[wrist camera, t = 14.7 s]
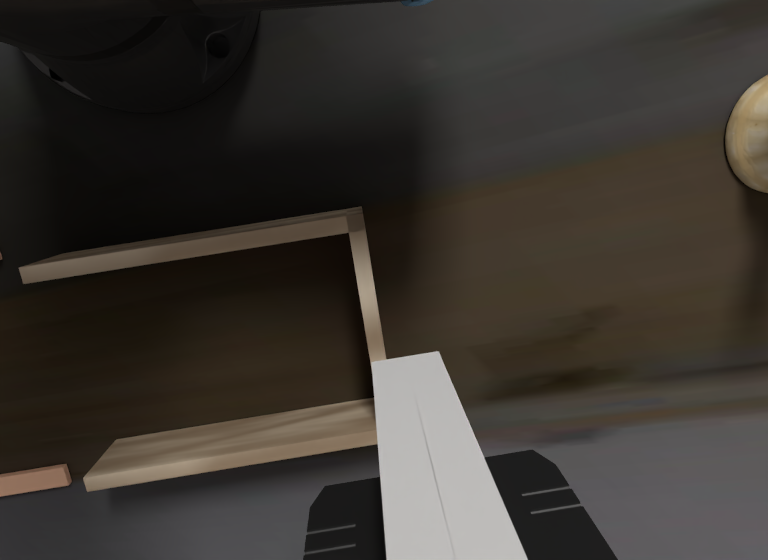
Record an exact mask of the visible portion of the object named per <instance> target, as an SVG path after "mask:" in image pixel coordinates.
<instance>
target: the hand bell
mask: <svg viewBox="0 0 768 560" xmlns="http://www.w3.org/2000/svg"><path fill="white" fill-rule="evenodd" d="M725 147H726V154H727V158H728V161H729V163H730V166H731V168H732V170H733V172H734V173H735V174H736V176H737V177H738V178H739V179H740V180H741V181H742V182H743V183H744V184H745V185H747V186H749V187H750V188H752V189H755V190H757V191H761V192H765V193H768V75H767V76H765V77H763V78H762V79H760V80H758V81H757V82H755V83H754V84H753V85H752V86H751V87H749V88H748V89H747V90H746V91H745V93H744V94H743V95H742V96H741V98H740V99H739V100H738V102H737V103H736V105H735V107H734V109H733V111H732V113H731V116H730V118H729V121H728V124H727V128H726V135H725Z"/></svg>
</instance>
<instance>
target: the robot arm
mask: <svg viewBox="0 0 768 560" xmlns="http://www.w3.org/2000/svg"><path fill="white" fill-rule="evenodd" d="M397 1H400V2H401V3H402V4H403V5H405V6H420V5H424V4H427V3H429V2H431V1H433V0H0V42H3V43H7V44H10V45H13V46H16V47H18V48H19V49H20V50H21V51H22V52H23V53H24V54H25V56H26V57H27V58H28V59H29V60H30V61H31V62H32V63H33V64H34V65H35V66H36V67H37V68H38V69H39V70H40V71H41V72H42V73H44V74H45V75H46V76H47V77H49V78H50V79H51V80H52V81H54V82H55V83H57V84H58V85H59V86H61V87H63V88H64V89H66V90H68V91H69V92H71V93H73V94H75V95H77V96H79V97H81V98H83V99H85V100H88V101H90V102H93V103H96V104H98V105H102V106H106V107H109V108H114V109H119V110H123V111H129V112H136V113H161V112H168V111H173V110H177V109H181V108H184V107H187V106H189V105H192V104H194V103H196V102H198V101H200V100H202V99H204V98H206V97H207V96H209V95H210V94H212V93H213V92H215V91H216V90H217V89H218V88H220V87H221V86H222V85H223V84H224V83H225V82H226V81H227V80H228V79H229V78H230V77H231V76H232V75H233V73H234V72H235V71H236V69H237V68H238V67H239V65H240V64H241V62H242V61H243V59H244V57H245V55H246V54H247V52H248V50H249V47H250V45H251V43H252V40H253V37H254V35H255V31H256V28H257V24H258V19H259V13H260V11H263V10H278V9H293V8H307V7H322V6H337V5H352V4H367V3H382V2H397ZM372 375H373V388H374V401H375V414H376V427H377V441H378V454H379V467H380V477H377V478H371V479H365V480H359V481H353V482H347V483H341V484H335V485H329V486H325V487H324V488H323V490H322V491H321V493H320V494H319V495H318V497H317V498H316V500H315V501H314V503H313V504H312V505H311V507H310V512H309V520H308V527H307V535H306V542H305V550H304V551H305V556H304V558H303V560H618V559H617V558H616V556H615V555H614V553H613V551H612V550H611V548H610V547H609V545H608V544H607V542H606V541H605V539H604V538H603V536H602V535H601V533H600V532H599V530H598V529H597V527H596V525H595V524H594V522H593V521H592V519H591V518H590V516H589V515H588V513H587V512H586V510H585V509H584V507H581V504H580V501H579V499H578V498H577V496H576V495H575V493H574V492H573V490H572V489H570V488H569V484H568V483H567V481H566V480H565V478H564V477H563V475H562V474H561V472H560V470H559V469H558V467H557V466H556V464H554V463H553V462H551V461H549V460H548V459H546V458H545V457H543V456H542V455H540V454H538V453H537V452H535V451H534V450H527V451H521V452H515V453H509V454H503V455H497V456H491V457H485V458H484V456H483V454H482V452H481V449H480V447H479V445H478V442H477V440H476V438H475V435H474V433H473V431H472V428H471V426H470V424H469V421H468V419H467V417H466V414H465V412H464V410H463V407H462V405H461V403H460V400H459V398H458V396H457V393H456V391H455V389H454V386H453V384H452V382H451V379H450V377H449V375H448V372H447V370H446V368H445V365H444V363H443V361H442V358H441V356H440V354H439V351H437V352H431V353H425V354H419V355H412V356H406V357H400V358H394V359H388V360H381V361H375V362H372Z"/></svg>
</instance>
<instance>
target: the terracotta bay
mask: <svg viewBox="0 0 768 560" xmlns="http://www.w3.org/2000/svg"><path fill="white" fill-rule="evenodd" d="M0 260H2V255H1V252H0ZM71 482H72V480H71V476H70V473H69V470H68V467H67V464H61V465H54V466H48V467H42V468H36V469H30V470H24V471H18V472H12V473H5V474H0V497H1V496H7V495H13V494H19V493H25V492H31V491H38V490H44V489H50V488H56V487H62V486H68V485H69V484H70V483H71Z"/></svg>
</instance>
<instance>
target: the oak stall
mask: <svg viewBox="0 0 768 560" xmlns="http://www.w3.org/2000/svg"><path fill="white" fill-rule="evenodd" d="M344 233H349V237H350V243H351V249H352V255H353V261H354V267H355V273H356V279H357V285H358V290H359V296H360V302H361V308H362V314H363V320H364V326H365V332H366V338H367V344H368V350H369V356H370V362H371V368H372V362H375V361H381V360H386V354H385V348H384V342H383V336H382V329H381V323H380V317H379V311H378V304H377V298H376V292H375V286H374V279H373V273H372V267H371V261H370V254H369V248H368V242H367V236H366V229H365V223H364V217H363V211H362V206H361V207H355V208H349V209H342V210H336V211H330V212H323V213H317V214H311V215H304V216H298V217H291V218H285V219H279V220H272V221H266V222H260V223H253V224H247V225H241V226H234V227H228V228H222V229H215V230H209V231H203V232H196V233H190V234H183V235H177V236H171V237H164V238H158V239H152V240H145V241H139V242H133V243H126V244H120V245H114V246H107V247H101V248H94V249H88V250H82V251H75V252H69V253H63V254H60V255H57V256H53V257H50V258H47V259H44V260H41V261H38V262H35V263H32V264H29V265H25V266H22V267H19V271H20V274H21V278H22V281H23V284H27V283H34V282H40V281H46V280H53V279H59V278H65V277H71V276H78V275H84V274H90V273H97V272H103V271H109V270H116V269H122V268H128V267H135V266H141V265H147V264H154V263H160V262H166V261H173V260H179V259H185V258H192V257H198V256H204V255H211V254H217V253H223V252H230V251H236V250H242V249H249V248H255V247H261V246H268V245H274V244H280V243H287V242H293V241H299V240H306V239H312V238H318V237H325V236H331V235H337V234H344ZM375 444H378V441H377V427H376V414H375V401H374V398H367V399H361V400H355V401H349V402H343V403H337V404H331V405H325V406H318V407H312V408H306V409H300V410H294V411H288V412H282V413H275V414H269V415H263V416H257V417H251V418H245V419H239V420H232V421H226V422H220V423H214V424H208V425H202V426H196V427H190V428H183V429H177V430H171V431H165V432H159V433H153V434H147V435H140V436H134V437H128V438H122V439H116V440H115V441H114V442H113V444H112V445H111V446H110V447H109V448H108V449H107V451H106V452H105V453H104V454H103V455H102V457H101V458H100V459H99V460H98V461H97V462H96V464H95V465H94V466H93V467H92V468H91V469H90V471H89V472H88V473H87V474H86V475H85V476H84V478H83V480H84V483H85V486H86V490H87V492H89V491H95V490H101V489H107V488H113V487H119V486H125V485H131V484H138V483H144V482H150V481H156V480H162V479H168V478H174V477H180V476H186V475H192V474H198V473H204V472H211V471H217V470H223V469H229V468H235V467H241V466H247V465H253V464H259V463H265V462H271V461H277V460H284V459H290V458H296V457H302V456H308V455H314V454H320V453H326V452H332V451H338V450H344V449H350V448H357V447H363V446H369V445H375Z"/></svg>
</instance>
